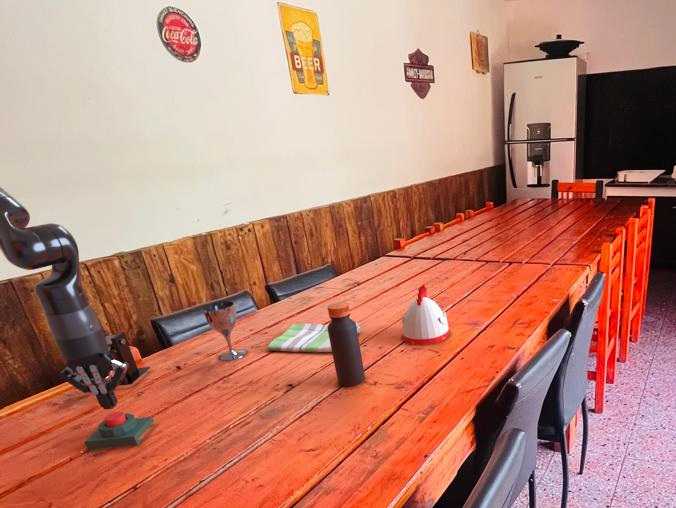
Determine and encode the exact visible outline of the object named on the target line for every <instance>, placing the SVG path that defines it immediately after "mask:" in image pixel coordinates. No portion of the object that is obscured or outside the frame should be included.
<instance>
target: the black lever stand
mask: <svg viewBox="0 0 676 508" xmlns="http://www.w3.org/2000/svg"><path fill="white" fill-rule="evenodd" d="M103 334H104V336H105V337H106V336H109V334H108V333H103ZM114 335H115V336H114V337H112V338H111V341H112V344H113V346H114V349H113V350H112V353H111V354H112V355H113V356H114V358H115V360H116V361H118V362H120V363H122V364H123V363H124V362H127V363H128V364H129V367H128V370H127V372H126V374H125V376H124V378H123V380H122V382H121V384H120V385H119V386H130V385H133V384H134V383H135V382H136V381H137V380H138V379H139V378H140V377H142V375H144V374H145V373H147V371H148V370H149V369H150V366H145V367H138V366H137V363H136V361H135V358H134V356H133V353H132V350H131V347H130V345H129V343H128V339H127V337H126V334H125V333H124V331H119V332H118V333H116V334H114ZM111 371H113V367H112V369H111ZM112 378H113V377H111V380H112Z"/></svg>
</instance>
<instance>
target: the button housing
mask: <svg viewBox="0 0 676 508" xmlns="http://www.w3.org/2000/svg"><path fill="white" fill-rule="evenodd" d="M124 415H125V417H126V421H125V422H124V423H122V424H120V425H117V426H114V427H107V425H106V423H105V421H104V420H102V421H101V422H100V423H99V424H98V425H97V428H96V429H95V431H93V432H92V433H91V434H90V435H89V436H88V437H87V438H86V439H85V440H84V441H83V443H84V445H85V447H86V449H87V450H88V451H93V450H102V449H112V448H122V447H130V446H131V447H132V446H139V444H140V443H141V442H142V441H143V440H144V439H142V438H141V437H142V436H143V434H145V432H146V431H147V430H148V429H149V428H150V427H151V425H152V424H153V423H154V421H155V420H154V418H153V416H146V417H145V416H144V417H136V416H135V415H134V414H133V413H124ZM150 431H151V430H150ZM150 431H149V432H150ZM149 432H148V433H149ZM140 438H141V439H140Z"/></svg>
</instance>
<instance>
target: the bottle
mask: <svg viewBox="0 0 676 508" xmlns="http://www.w3.org/2000/svg"><path fill="white" fill-rule="evenodd" d="M327 314H328V316H329V319H330V320H331V321H330V322H329V323H328V324H329V325H328V324H327V325H328V334H329V339H330V344H331V349H332V352H331V354H332V358H333V359H332V360H333V364H334V370H335V375H336V380H337V383H338V384H339V385H341V386H342V387H354V386H357V385H360V384H362V383H363V382H364V381H365V379H366V375H365V367H364V363H363V357H362V351H361V345H360V339H359V333H357V327H356V323H355V321H354V320H353V319H352V318H350V316H351V310H350V305H349V303H347V302H346V301H345V302H343V301H342V302H339V301H338V302H333V303H330V304H329V305H327Z"/></svg>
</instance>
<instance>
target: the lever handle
mask: <svg viewBox="0 0 676 508" xmlns="http://www.w3.org/2000/svg"><path fill="white" fill-rule="evenodd" d="M115 335H116V334H112V335H108V336H106V337H105V339H106V341H107V344H108V349H109V352H110V353H112V350H113V349H114V346H113V344H112V341H111V338H112V337H114V336H115ZM114 350H115V349H114ZM110 373H111V377H113V376H114V373H113V371H110Z"/></svg>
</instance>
